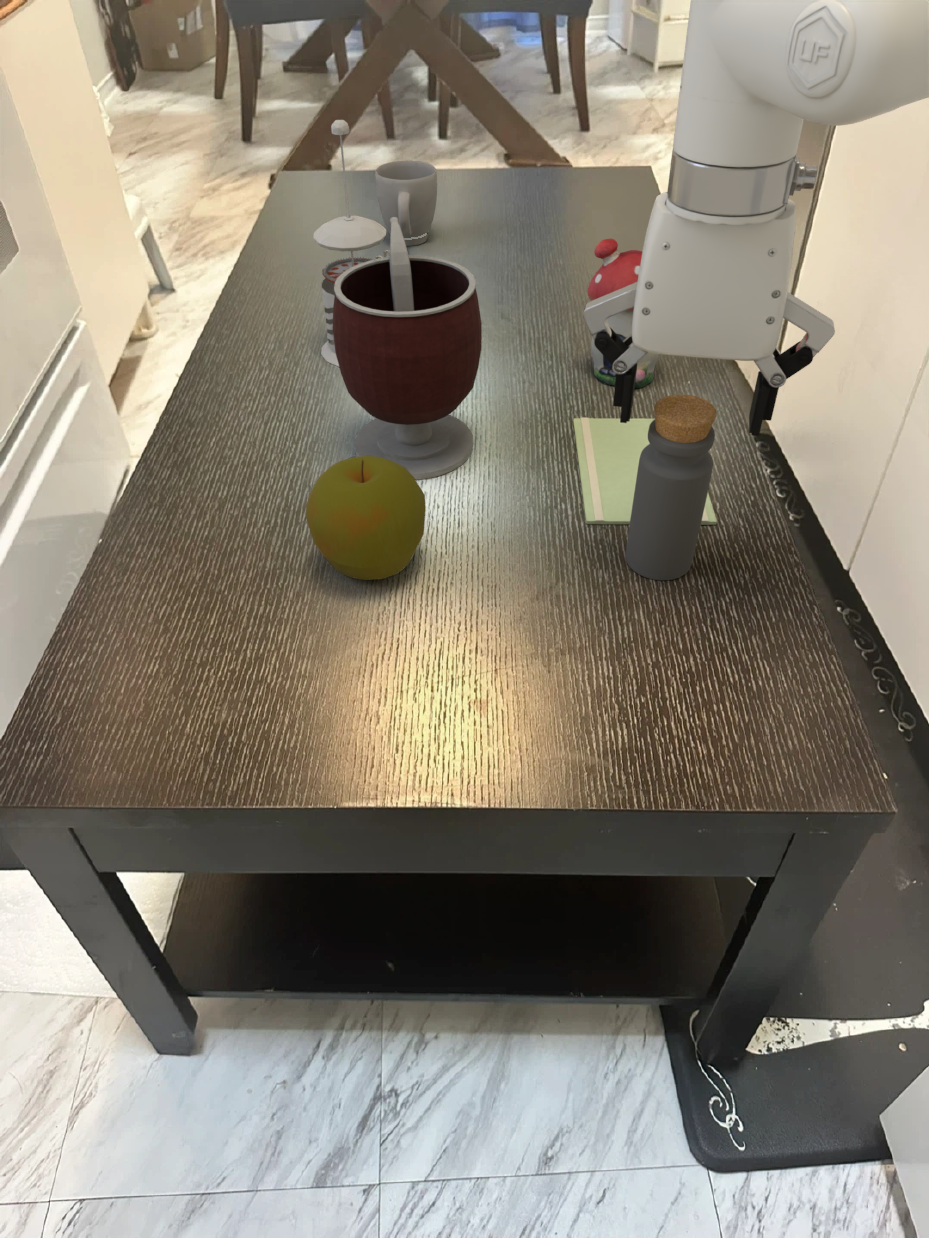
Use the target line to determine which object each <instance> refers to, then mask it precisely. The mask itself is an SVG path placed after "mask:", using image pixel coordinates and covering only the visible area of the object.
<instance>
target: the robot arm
mask: <svg viewBox="0 0 929 1238" xmlns="http://www.w3.org/2000/svg"><path fill="white" fill-rule="evenodd" d="M684 44H685V45H684V52H683V59H682V60H683V62H682V67H681V68H682V69H681V78H680V85H679V92H678V93H679V94H678V101H677V109H676V118H675V127H674V133H673V142H672V152H671V159H670V166H669V176H668V182H667V183H668V184H667V191H664V192H662V193H660V194H658V195H657V196H656V198H655V200H654V203H653V206H652V208H651V213H650V216H649V220H648V224H647V228H646V232H645V237H644V242H643V246H642V250H641V251H642V258H641V264H640V270H639V275H638V282H635V283H633V284H631V285H628V286H626V287H623V288H621V289H619V290H616V291H614V292H612V293H609V294H607V295H604V296H602V297H600V298H597V299H595V300H593V301H591V300H590V301H588V302H587V303H586V304H585V306H584V309H583V312H582V318H583V320H584V322H585V326H586V327H587V329H588V331H589V334H590V335H591V338H592V337H593V339H594V344H595V347H596V348H597V349H598V350H599V351H600V352H601V353H602V355H603V356H604V357H605V358H606V359H607V360H608V361H609V362H610V363H611V365H612V369H613V371H614V372H615V373H616V380H615V386H614V391H613V399H612V401H613V402H612V407H618V408H621V409H620V423H627V421H628V422H630V418H631V415H632V411H633V404H634V397H635V390H636V388H635V381H636V372H637V363H638V361H639V360H640V359H642V358H643V357H644V356H645V355H646V354H647V353H648V352H650V353H655V354H660V355H666V356H676V357H688V358H701V359H712V360H726V361H741V362H743V361H744V362H754V364H755V365H756V367H757V369H758V370H759V371H758V372H757V377H756V380H755V386H754V390H753V396H752V400H751V405H750V409H749V414H748V418H749V419H748V433H749V434H751V436H755V437H756V436H758V437H759V436H760V433H761V429H762V425H763V421H768V422H769V421H770V422H771V421H772V418H773V414H774V411H775V405H776V402H777V397H778V394H779V389H780V388H781V387H783V386H784V385H785V384H786V382H787V380H788V379H789V378H791V377H793V376H795V374H797V373H799V372H800V371H802V370H803V369H805V368H806V367H808V366H810V364H811V363H812V362H813V360H814V357H815V356H816V355H817V354H819V353H820V352H821V351H822V349H823V348H824V347H825V346H826V345H827V344H828V343H829V342H830V340H831V339H832V338H833V337H834V336H835V333H836V329H835V324H834V320H833V319H831V318H830V317H828V315H826V314H824V313H822V312H821V311H819V310H817V309H816V308H815V307H812V306H811V305H809V304H808V303H806V302H805V301H803V300H801V299H800V298H798V297H797V296H795V295H793V294H792V293H790V292H789V287H790V286H789V285H790V279H791V272H792V266H793V265H792V264H793V255H794V242H795V235H796V225H797V223H796V222H797V205H796V202H795V201H793V200H792V199H791V198H790V196H794V194H795V192H801V191H802V190H813V189H814V188H815V185H816V181H817V176H818V171H819V169H818V168H819V166H818V165H812V164H811V165H809V164H807V163H806V162H801V161H800V157H797V154H798V148H799V145H800V139H801V135H802V129H803V125H804V120H805V121H807V122H810V123H813V124H818V125H822V126H834V127H837V126H838V127H840V126H848V125H855V124H857V123H861V122H863V121H866V120H870V119H872V118H875V117H878V116H881V115H884V114H887V113H890V112H893V111H895V110H897V109H899V108H901V107H904V106H907V105H910V104H912V103H913V104H914V103H916V102H918V101H922V100H925V99H929V0H690V3H689V11H688V19H687V28H686V35H685V43H684ZM633 307H634V310H633V321H632V333H631V334H630V335H629V336H628V337H627V338H626V339H624V340H623V341H622V340H621V339H620V337H619V336H618V335H617V334H616V333H615V332H614V331H613V330H612V328H611V327H610V326H609V324H608V320H607V318H609V317H611V316H613V315H616V314H618V313H621V312H623V311H626V310H628V309H631V308H633ZM784 320H786V321H787V322H789V323H791V324H792V325H794V326H795V327H797V328H799V329H800V330H802V331H803V332H805V334H804V336H803V338H802V339H801V340H800V341H798V342H796V343H795V344H793V345H792V346H790V347H789V348H787V349H786V350H784V351H783V352H782V353H781V351H780V349H779V348H778V347H777V346H778V343H779V339H780V334H781V330H782V325H783V321H784Z"/></svg>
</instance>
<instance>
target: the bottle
mask: <svg viewBox="0 0 929 1238" xmlns="http://www.w3.org/2000/svg"><path fill="white" fill-rule="evenodd" d="M653 412H654V419H655V420H653V421H652V422H651V424H650V426H649V430H648V441H649V443H650V444H649V445H647V446H646V447H645V448H644V449H643V450H642V452H641V455H640V459H639V465H638V472H637V478H636V485H635V492H634V498H633V505H632V512H631V519H630V524H628V525H629V526H628V533H627V539H626V540H627V541H626V549H625V560H626V563H627V565H628V567H629V568H630V569H631V570H632V571H633V572H635V573H636V574H637V575H639V576H641V577H644V578H646V579H649V580H653V581H672V580H676V579H679V578H681V577H683V576H686V574H687V573H688V572H689V571H690V569H691V568H692V566H693V565H692V564H693V561H694V557H695V554H696V553H695V552H696V548H697V543H698V538H699V534H700V529H701V526H702V525H701V521H702V517H703V512H704V507H705V503H706V498H707V494H708V493H709V489H710V485H711V480H712V476H713V475H712V473H713V470H714V469H713V468H714V459H713V456H712V455H711V453H710V452H709V451H710V450H711V449H712V447H713V446H714V443H715V437H716V436H715V435H716V432H715V429H714V428H713V424H714V422H715V420H716V418H717V413H718V411H717V408H716V407H715V406H714V404H712V402H710V401H708V400H707V399H705V398H702V397H699V396H696V395H691V394H672V395H666V396H664V397H662V398H660V399H659V400H657V401H656V403H655V404H654V409H653Z"/></svg>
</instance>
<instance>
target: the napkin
mask: <svg viewBox="0 0 929 1238" xmlns="http://www.w3.org/2000/svg"><path fill="white" fill-rule="evenodd" d="M653 420H655V418H631V417H630V422H628V421H627V423H620V418H618V417H617V418H614V417H613V418H609V417H608V418H605V417H604V418H602V417H601V418H596V417H593V418H590V417H586V416H585V417H583V416H581V417H580V418H579V417H577V418H576V417H575V418H572V424H573V425H572V426H573V432H574V440H575V448H576V455H577V464H578V471H579V479H580V486H581V495H582V502H583V511H584V519H585V524H586V525H630V519H631V512H632V505H633V498H634V492H635V485H636V478H637V472H638V465H639V459H640V455H641V452H642V450H643V449H644V448H645V447H646V446H647V445H649V444H650V443H649V441H648V430H649V426H650V424H651V422H652V421H653ZM717 524H718V520H717V517H716V514H715V511H714V506H713V504H712V500H711V497H710V494H709V492H708V494H707V498H706V503H705V507H704V512H703V517H702V521H701V526H717Z"/></svg>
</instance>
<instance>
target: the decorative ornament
mask: <svg viewBox="0 0 929 1238" xmlns="http://www.w3.org/2000/svg"><path fill="white" fill-rule="evenodd" d="M618 246H619V243H618V241H617V240H615V238H605V239H602V240H601V241H599V242H598V243H597V245H596V246H595V248H594V251H593V253H594V256H595V257H596V258H598V259H601V260H602V265H601V266H600V267H599V268H598V270H597V271H596V272H595V274H594V275H593V277H592V279H590V282H589V284H588V286H587V296H588V299H589V300H590V301H593V300H595V299H597V298H600V297H602V296H604V295H607V294H609V293H612V292H614V291H616V290H619V289H621V288H623V287H626V286H628V285H631V284H633V283H635V282H638V275H639V270H640V264H641V258H642V251H643V250H637V249H630V250H626V251H623V252H620V251H618ZM633 310H634V307H633V308H631V309H628V310H626V311H623V312H621V313H618V314H616V315H613V316H611V317H609V318H607V320H608V324H609V326H610V327H611V328H612V330H613V331H614V332H615V333H616V334H617V335H618V336H619V337H620V339H621V340H622V341H623V340H624V339H626V338H627V337H628V336H629V335H630V334H631V333H632V321H633ZM590 350H591V356H592V362H593V376H594V377H595V378H597V379H598V380H600V382H603V383H604V384H606V385H609V386H613V387H615V380H616V373H615V372H614V371H613V369H612V365H611V363H610V362H609V361H608V360H607V359H606V358H605V357H604V356H603V355H602V353H601V352H600V351H599V350H598V349H597V348H596V347H595V344H594V339H593V337H592V336H591V341H590ZM660 355H661V354H655V353H650V352H648V353H647V354H646V355H645V356H644V357H643V358H642V359H640V360H639V361H638V363H637V372H636V381H635V389H639V388H641V389H642V388H643V387H645V386H647V385H649V384H651V383H652V382H653V380H654V377H655V367H656V364H657V362H658V360H659V357H660Z"/></svg>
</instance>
